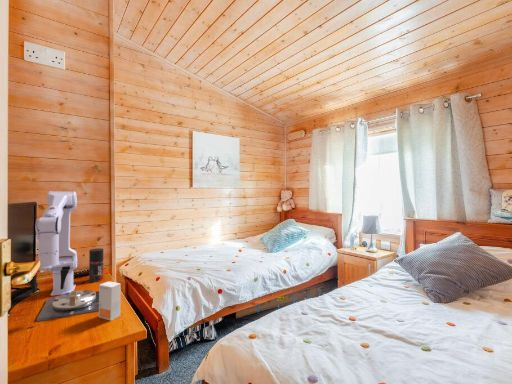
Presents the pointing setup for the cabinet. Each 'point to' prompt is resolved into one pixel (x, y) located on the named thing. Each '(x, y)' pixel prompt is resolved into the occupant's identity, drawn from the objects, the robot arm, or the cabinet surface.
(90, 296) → the flat grey disc
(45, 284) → the cabinet surface
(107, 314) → the skincare box
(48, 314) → the base plate
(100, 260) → the deodorant
